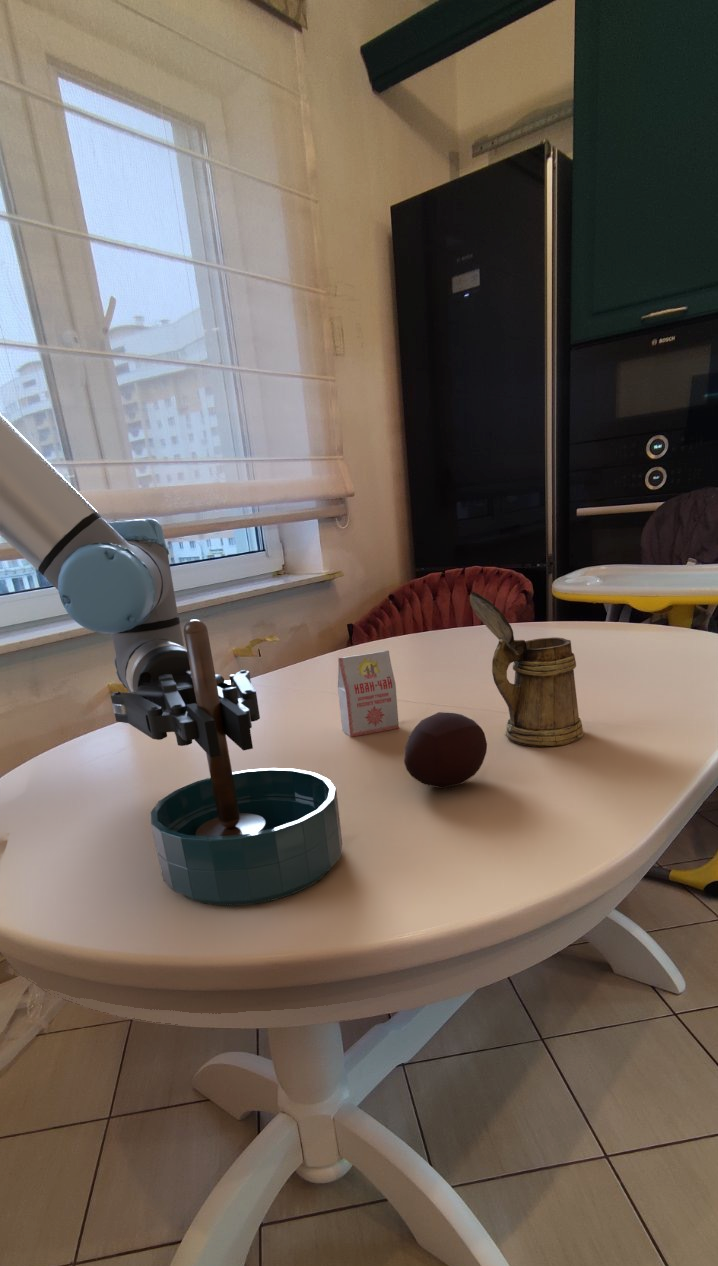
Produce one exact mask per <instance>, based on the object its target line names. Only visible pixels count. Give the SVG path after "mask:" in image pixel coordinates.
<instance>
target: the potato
mask: <svg viewBox="0 0 718 1266" xmlns="http://www.w3.org/2000/svg"><path fill="white" fill-rule="evenodd" d="M487 749H488V742H487V739H486V735H485V732H484V730H483V729H482V726H480V725H479V724H478V723H477V722H476V721H475V720H473V719H471V718H469V717H468V716H466V715H463V714H460V713H456V712H444V711H443V712H442V711H441V712H440V711H439V712H437V713H436V712H435V713H434V714H432V715H430V716H427V717H425V718H424V719H421V720H420V721H419V722H418V724H416V726H415V727H414V728H413V730H412V731H411V732H410V734H409V735H408V738H407V741H406V744H405V747H404V760H403V762H404V766H405V769H406V771H407V772H408V774H409V775H410V776H411V778H413V779H415V780H416V781H418V782H419V783H421V784H423V785H426V786H431V787H434V788H435V787H436V788H441V789H443V788H450V787H453V786H458V785H461V784H463V783H464V782H467V781H468V780H469V779H471V778H472V777H474V776H475V775H476V774H477V772H479V770H480V769H481V767H482V765H483V764H484V761H485V758H486V754H487V751H488V750H487Z"/></svg>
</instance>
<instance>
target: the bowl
mask: <svg viewBox="0 0 718 1266" xmlns="http://www.w3.org/2000/svg"><path fill="white" fill-rule="evenodd" d="M232 774H233V780H234V785H235V791H236V797H237V803H238V808H239V813H250V814H256V815H259V816H261V817H263V818H264V819H265V821H266V825H267V830H263V831H258V832H253V833H248V834H243V835H233V836H218V837H207V836H196V830H197V829H198V828H199V827H200V826H201V825H202V824H204V823H205V822H207V821H209V820H211V819H214V818H217V817H218V814H217V808H216V803H215V798H214V792H213V787H212V782H211V776H209V777H207V778H203V779H200V780H197V781H194V782H192V783H189V784H187V785H185V786H182V787H180V788H177V789H175V790H173V791H172V792H170V793H169V794H168V795H166V796H165V797H163V798H161V799H160V800H158V802H157V803H156V804H155V806H154V807H153V808H152V809H151V810H150V812H149V813H150V815H149V816H150V826H151V831H152V836H153V840H154V845H155V849H156V854H157V858H158V863H159V868H160V873H161V876H162V880H163V882H164V883H165V884H166V885H167V886H168V887H169V888H170V889H171V890H172V891H173V892H175V893H177V894H180V895H182V896H184V897H186V898H187V899H190V900H192V901H195V902H197V903H202V904H208V905H213V906H246V905H247V906H248V905H254V904H260V903H265V902H271V901H274V900H277V899H282V898H284V897H287V896H290V895H293V894H295V893H298V892H300V891H303V890H304V889H306V888H308V887H310V886H312V885H313V884H315V883H316V882H318V881H320V880H321V879H322V878H324V876H326V874H327V873H328V872H329V871H330V870H331V869H332V868H333V866H334V865H335V864H336V863H337V862H338V860H339V859H340V858H341V857H342V850H343V837H342V827H341V817H340V809H339V801H338V791H337V787H336V786H335V785H334V783H333V782H332V781H331V780H330V778H327V777H325V776H323V775H321V774H319V773H317V772H314V771H308V770H304V769H298V768H280V767H279V768H278V767H269V768H267V767H266V768H254V769H244V770H239V771H234V772H233V771H232Z"/></svg>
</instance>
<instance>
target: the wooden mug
mask: <svg viewBox="0 0 718 1266" xmlns="http://www.w3.org/2000/svg"><path fill="white" fill-rule="evenodd" d="M469 604H470V606H471V608H472V609H473V611H474V613H475V614H476V616H477V617H478V619H479V620H480V621H481V622H482V623H483V624H484V625H485V626H486V628H487V629H488V630H489V632H491V633H492V634H493V635H494V636H495V637H496V638H497V640H498V643H497V645H496V647H495V649H494V653H493V657H492V662H491V673H492V678H493V682H494V684H495V686H496V688H497V690H498V692H499V694H500V695H501V697H502V699H503V700H504V702H505V704H506V706H507V708H508V713H509V719H508V720H507V721H506V729H505V737H507V738H508V739H509V741H512V742H513V743H514V744H517V745H521V746H528V747H537V748H538V747H539V748H542V747H544V748H545V747H558V746H565V745H569V744H571V743H574V742H576V741H578V740H579V739H581V738H582V737H583V736H584V728H583V723H582V720H581V718H580V714H579V706H578V698H577V689H576V679H575V669H576V667H577V661H576V656H575V654H574V652H573V650H572V641H571V639H567V638H564V637H558V636H557V637H553V636H552V637H542V638H533V639H530V640H525V639H515V636H514V630H513V627H512V625H511V624H510V623H509V621H508V619H507V618H506V617H505V615H504V614H503V613H502V612H501V610H500V609H499V608H498V607H496V605H495V604H493V603H492V602H491V601H490V600H489V599H487V598H486V597H485V596H482V595H481V594H479V593H477V592H475V591H473V590H471V591H470V595H469ZM512 663H513V664H512ZM511 664H512V670H513V671H514V680H513V681H514V682H513V683H512V682H510V681H509V679H508V669H509V667H510V665H511Z"/></svg>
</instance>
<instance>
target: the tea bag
mask: <svg viewBox="0 0 718 1266" xmlns="http://www.w3.org/2000/svg"><path fill="white" fill-rule="evenodd" d="M337 662H338V665H337V667H338V668H337V670H338V672H337V690H338V691H337V693H338V702H339V711H340V712H339V713H340V720H341V721H340V723H341V730H342V731H343V733H345V734H347V736H348V737H350V738H352V737H358V736H362V735H363V736H364V735H369V734H374V733H380V732H385V731H391V730H396V729H400V725H399V724H400V723H399V713H398V712H399V711H398V698H397V697H398V696H397V684H396V680H395V676H394V670H393V666H392V662H391V656H390V651H389V650H382V651H376V652H370V653H363V654H355V655H349V656H344V657H338V658H337Z"/></svg>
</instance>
